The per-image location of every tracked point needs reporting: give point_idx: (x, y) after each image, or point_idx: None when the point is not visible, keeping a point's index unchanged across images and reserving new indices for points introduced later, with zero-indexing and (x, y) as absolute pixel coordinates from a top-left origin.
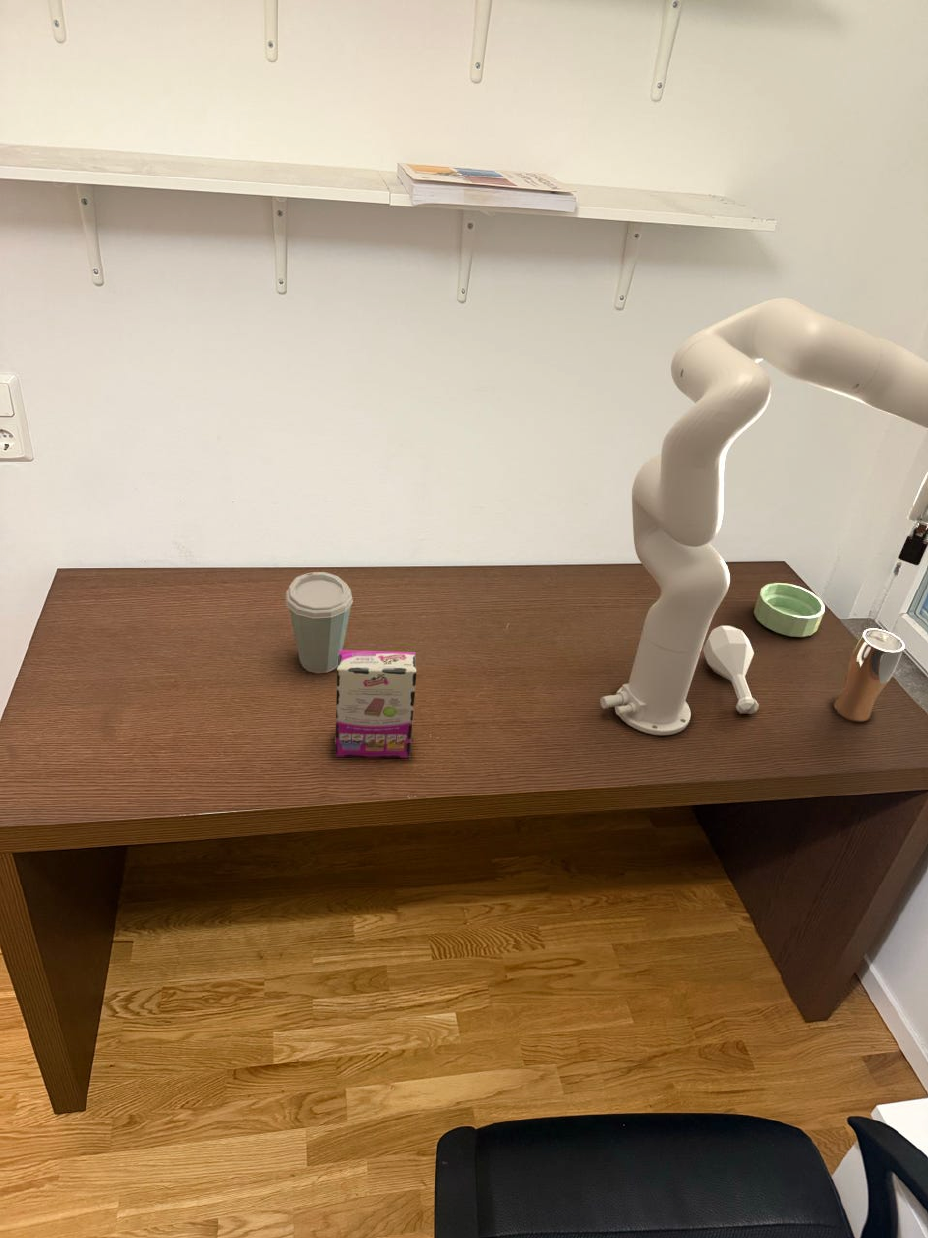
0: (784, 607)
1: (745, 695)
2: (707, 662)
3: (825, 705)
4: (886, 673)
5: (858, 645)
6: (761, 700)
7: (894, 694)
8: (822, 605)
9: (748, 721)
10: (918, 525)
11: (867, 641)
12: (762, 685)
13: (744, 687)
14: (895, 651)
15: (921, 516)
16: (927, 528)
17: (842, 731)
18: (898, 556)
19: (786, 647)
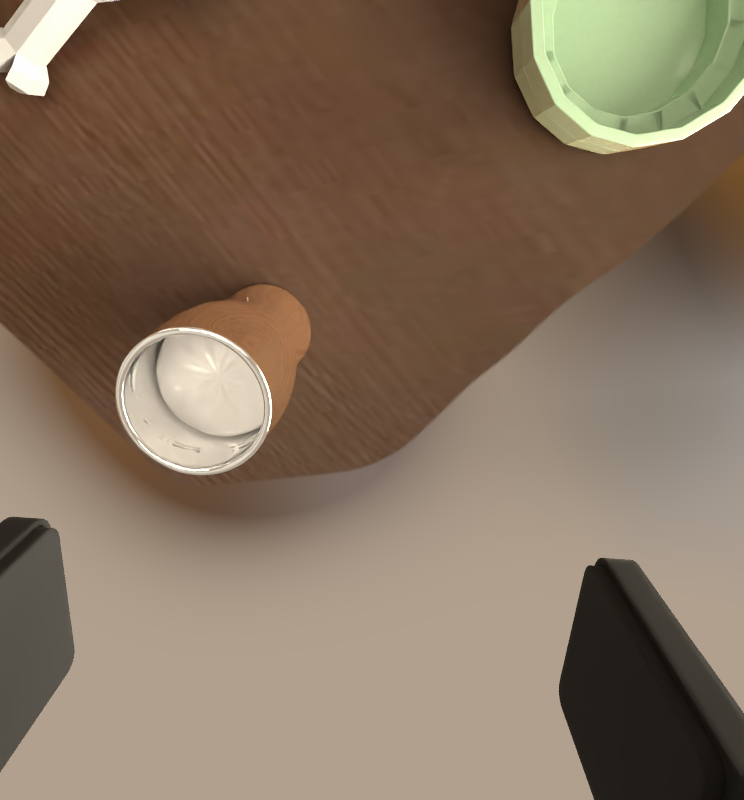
0: (702, 6)
1: (6, 35)
2: None
3: (239, 265)
4: (175, 421)
5: (171, 320)
6: (127, 96)
7: (414, 411)
8: (682, 129)
9: (7, 90)
10: (644, 682)
11: (134, 353)
12: (200, 76)
13: (28, 17)
14: (149, 453)
15: (727, 792)
16: (621, 762)
17: None
18: (4, 521)
19: (457, 88)
